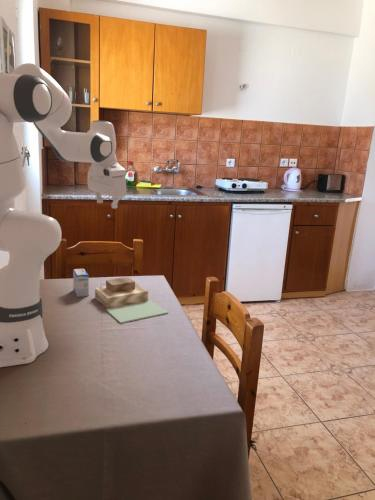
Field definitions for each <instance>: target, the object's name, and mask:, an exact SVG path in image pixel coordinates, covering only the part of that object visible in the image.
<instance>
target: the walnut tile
mask: <svg viewBox="0 0 375 500" xmlns="http://www.w3.org/2000/svg"><path fill="white" fill-rule="evenodd" d="M135 283H136V281H135V280H133V279H132V278H130V277H129V276H123V277H120V278H119V277H118V278H113V279H112V278H111V279H106V280H105V286H106V288H107V289H108V290H109V291H111V292H112V293H116V292H122V291H128V290H133V289H135Z"/></svg>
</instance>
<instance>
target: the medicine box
mask: <svg viewBox="0 0 375 500" xmlns="http://www.w3.org/2000/svg"><path fill="white" fill-rule="evenodd" d="M72 272H73V273H72V274H73V275H72V280H73V281H72V285H73V288H72V289H73V292H74V293H75V295H76V297H77V298H79V297H80V298H81V297H88V296H89V293H90V291H89V290H90V289H89V288H90V287H89V274H88V272H87V271H86V269H85V268H75V269H72Z"/></svg>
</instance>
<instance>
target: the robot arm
mask: <svg viewBox="0 0 375 500" xmlns="http://www.w3.org/2000/svg"><path fill="white" fill-rule="evenodd" d="M72 108H73V105H72V100H71V99H70V97H69V94H67V92H66V91H65V90H64V89H63V87H62V86H61V85H60V83H58V82H57V80H56V79H54V78H53V77H52V76H51V75H50V74H49V73H47V71H45V70H44V69H43V68H41V67H40V66H38V65H37V64H34V63H30V62H29V63H27V62H26V63H23V64H20V65H17V67H16V68H15V69H14V70H13V71H12V72H11V73H6V72H0V251H1V252H7V253H8V254H9V259H8V264H7V265H4V266H2V268H0V368H4V367H12V366H17V365H18V366H19V365H25V364H31V363H33V362H34V361H35V360H36V358H37V357H39V356H40V355H41V354H43V353H44V352H46V350H47V349H48V347H49V342H48V340H47V336H46V333H45V329H44V325H43V314H44V310H43V309H44V308H43V307H44V306H43V301H42V298H41V293H40V291H41V287H40V283H41V282H40V281H41V280H40V277H41V271H42V268H43V264H44V263H45V261H46V259H47V258H48V257H49V256H50V255H52V254H53V253H54V252H56V251H57V249H58V247H59V246H60V244H61V241H62V235H63V234H62V227H61V226H60V223H59V222H58V221H57V219H55V217H54V218H53V217H51V216H49V215H46V214H43V213H40V212H33V211H26V210H25V211H24V210H18V209H17V207H16V204H15V202H16V201H15V199H16V198H17V197H19V196H20V195H21V194H22V193H23V192H24V191H25V189H26V186H27V180H26V176H25V171H24V167H23V163H22V158H21V154H20V151H19V146H18V144H17V140H16V137H15V134H14V131H13V128H14V123H16V124H17V123H33V125H34V127H35V128H36V130H37V131H38V132H39V133H40V134H41V136H42V138H44V140H45V141H46V143H48V144H49V146H50V147H51V149H52V151H53V153H54V155H55V157H56V158H57V159H58V160H59V161H61V162H62V163H63V162H64V163H66V162H67V163H69V162H70V163H72V162H77V163H78V162H79V163H91V165H90V166H89V168H88V171H87V187H88V189H89V190H91V191H93V192H94V196H95V198H96V203H98V204H103V203H104V198H103V197H102V194H103V195H106V196H108V197H111V199H112V203H110V207H111V208H112V209H117V208H119V207H118V204H119V201H120V199H121V198H122V199H123V198H125V197H126V195H127V179H126V177H125V175H126V174H127V171H126V169H125V167H123V166H122V165H121V164H119V162H118V159H117V154H116V150H117V140H116V139H117V138H116V137H117V136H116V132H115V126H114V124H113V123H112V122H110V121H107V120H98V119H97V120H93V121H91V122H90V127H89V128H90V129H89V130H87V132H79V131H77V132H76V131H68V130H63V129H61V127H63V126H64V125H65V124H66V123H67V122H68V121H69V119H70V117H71V115H72V111H73V109H72Z"/></svg>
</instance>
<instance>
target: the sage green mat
mask: <svg viewBox="0 0 375 500" xmlns="http://www.w3.org/2000/svg"><path fill="white" fill-rule="evenodd" d="M105 310H106V312H107V314H108V313H109V314H110V316H112V317H113V318H114V319H115V320H116V321H117V322H118V323H119V324H121V325H122V324H124V323H129V322H133V321H138V320H142V319H149V318H153V317H158V316H163V315H167V314H169V312H168V311H167V310H166V309H165V308H164V307H162V306H160V305H159V304H157V303H156V302H154V300H148V301H146V302H141V303H136V304H131V305H125V306H120V307H115V308H110V309H107V308H106V309H105Z"/></svg>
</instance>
